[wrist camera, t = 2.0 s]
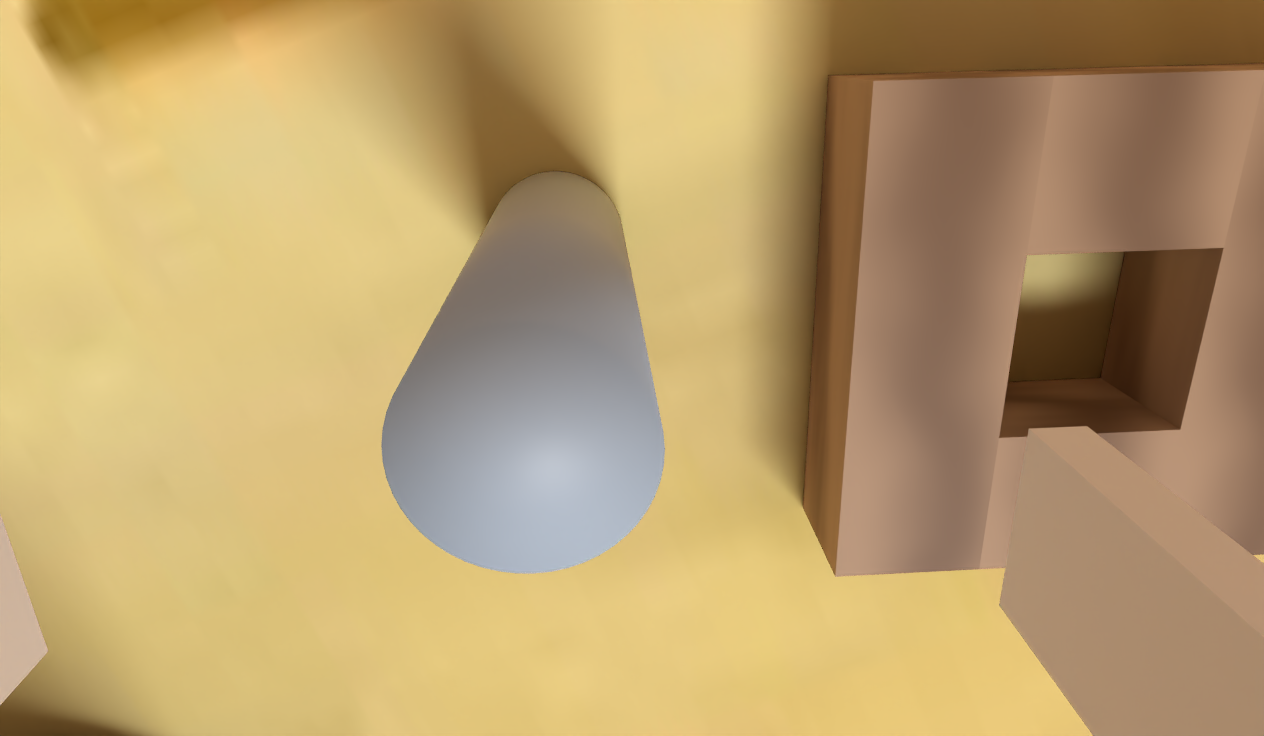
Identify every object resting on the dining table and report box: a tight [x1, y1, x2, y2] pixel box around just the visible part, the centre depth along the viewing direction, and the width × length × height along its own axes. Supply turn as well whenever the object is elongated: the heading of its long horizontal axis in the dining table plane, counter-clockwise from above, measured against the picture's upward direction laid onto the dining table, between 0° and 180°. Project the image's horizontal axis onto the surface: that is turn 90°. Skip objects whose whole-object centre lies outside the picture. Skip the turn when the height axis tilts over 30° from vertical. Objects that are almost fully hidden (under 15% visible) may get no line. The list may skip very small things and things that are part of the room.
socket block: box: [803, 63, 1264, 577], centre depth 28 cm, size 16×16×4 cm
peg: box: [382, 171, 665, 573], centre depth 21 cm, size 4×4×16 cm
